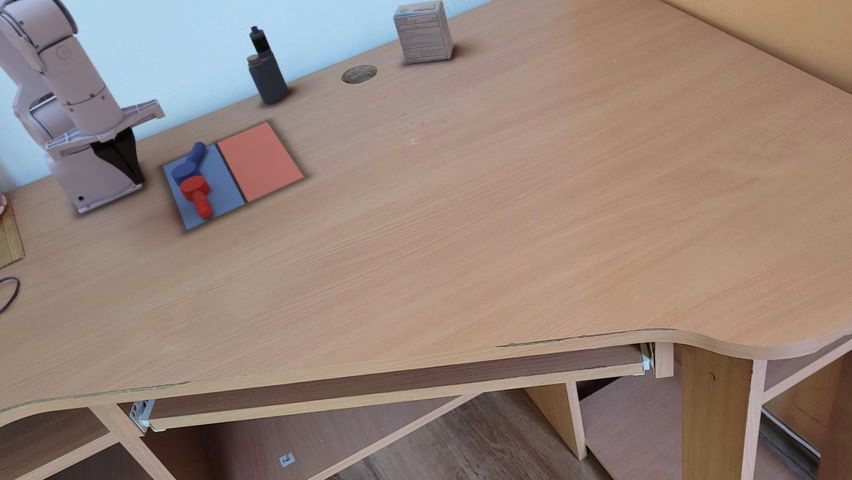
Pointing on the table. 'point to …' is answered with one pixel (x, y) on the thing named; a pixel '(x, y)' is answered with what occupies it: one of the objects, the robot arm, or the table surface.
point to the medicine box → (423, 31)
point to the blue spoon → (189, 164)
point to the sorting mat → (237, 172)
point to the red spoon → (197, 194)
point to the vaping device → (265, 69)
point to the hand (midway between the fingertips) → (139, 180)
